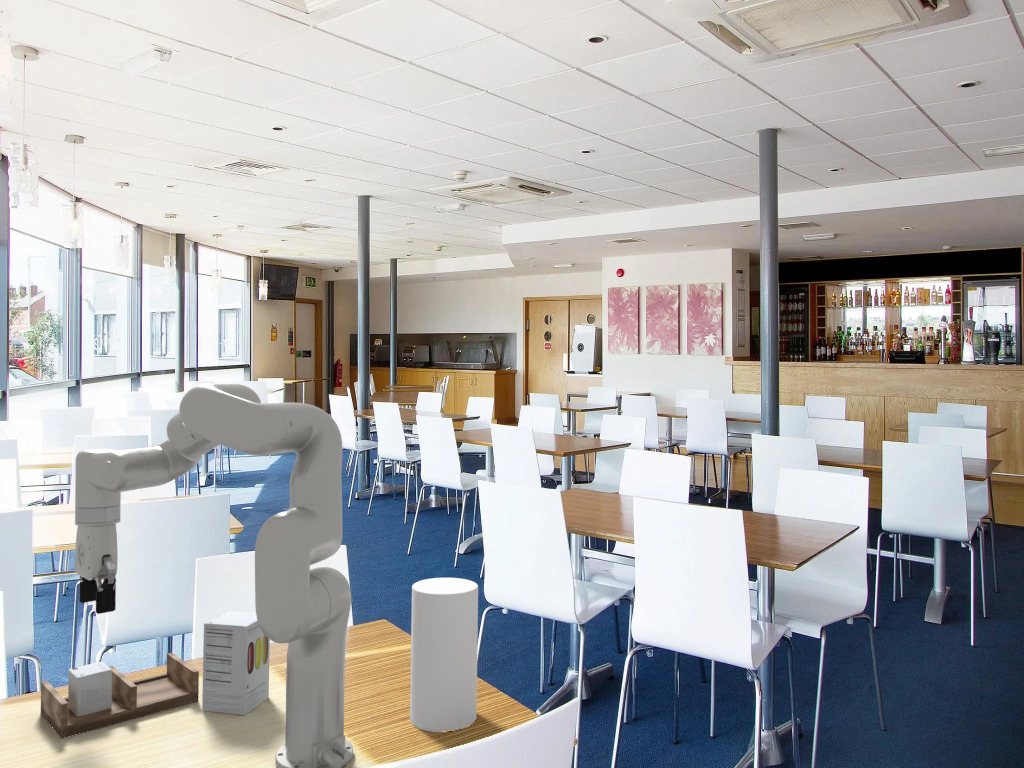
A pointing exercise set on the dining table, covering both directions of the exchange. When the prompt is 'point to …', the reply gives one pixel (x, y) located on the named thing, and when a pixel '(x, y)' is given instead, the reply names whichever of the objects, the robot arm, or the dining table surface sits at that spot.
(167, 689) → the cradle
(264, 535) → the robot arm
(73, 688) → the skincare box
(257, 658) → the supplement box
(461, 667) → the cylinder
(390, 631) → the dining table surface
